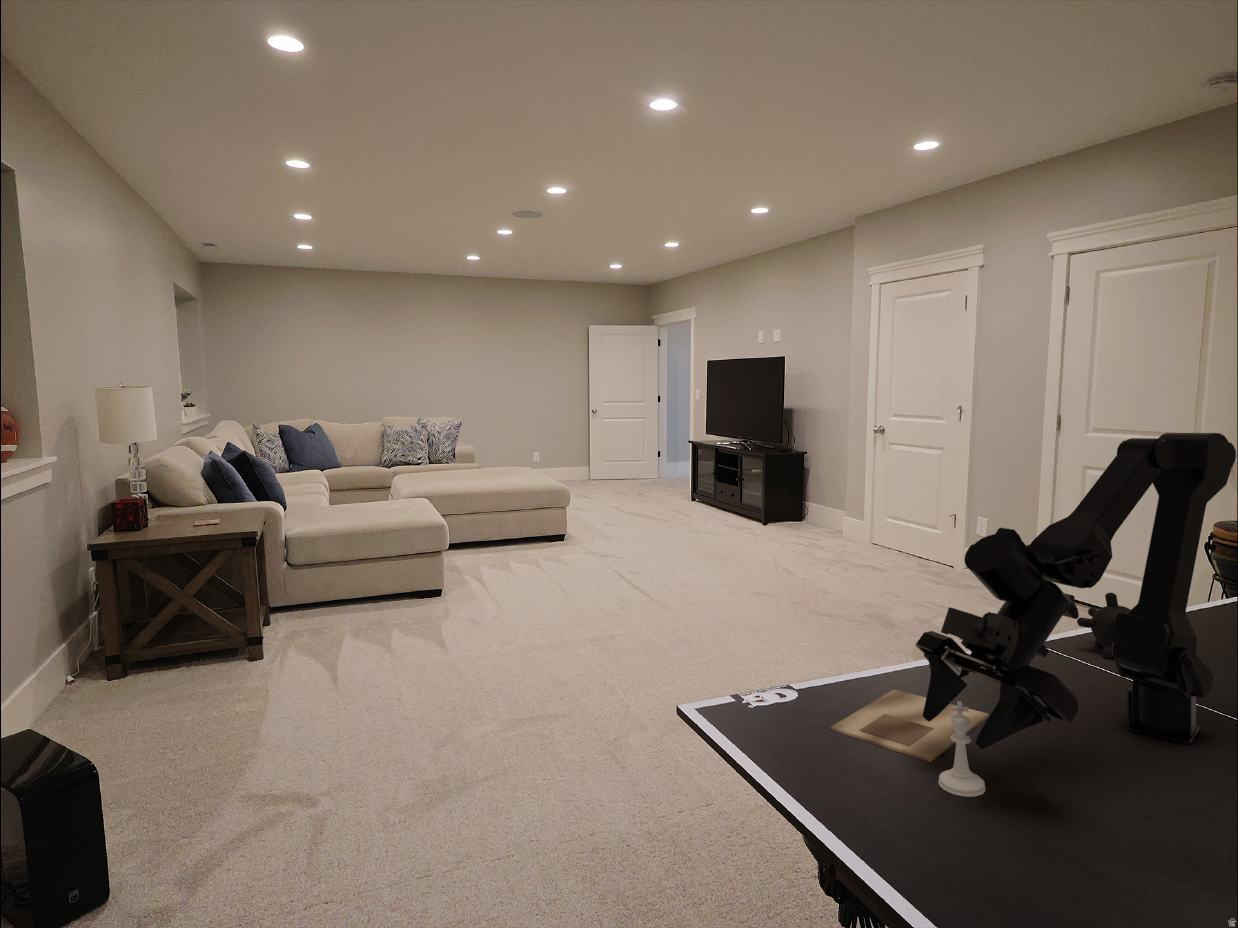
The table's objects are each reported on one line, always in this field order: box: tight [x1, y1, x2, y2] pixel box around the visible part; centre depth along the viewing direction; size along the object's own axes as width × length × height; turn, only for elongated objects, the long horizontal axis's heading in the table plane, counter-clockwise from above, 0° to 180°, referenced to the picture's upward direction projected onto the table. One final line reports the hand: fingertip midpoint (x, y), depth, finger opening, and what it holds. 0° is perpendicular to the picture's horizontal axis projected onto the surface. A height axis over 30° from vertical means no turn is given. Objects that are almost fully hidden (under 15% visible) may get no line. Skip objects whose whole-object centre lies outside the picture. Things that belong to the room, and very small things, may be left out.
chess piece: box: [938, 700, 986, 798], centre depth 83 cm, size 5×5×10 cm
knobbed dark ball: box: [1076, 592, 1131, 660], centre depth 122 cm, size 11×11×12 cm
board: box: [830, 689, 990, 763], centre depth 100 cm, size 14×18×1 cm
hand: (950, 732), depth 82 cm, fingers open, 8 cm apart
